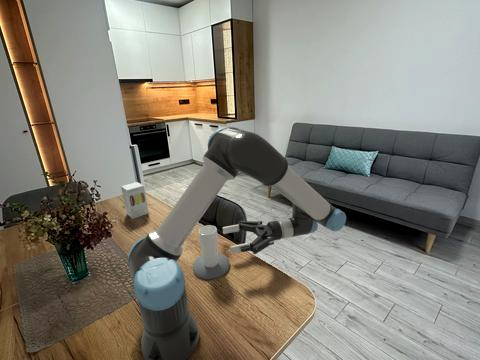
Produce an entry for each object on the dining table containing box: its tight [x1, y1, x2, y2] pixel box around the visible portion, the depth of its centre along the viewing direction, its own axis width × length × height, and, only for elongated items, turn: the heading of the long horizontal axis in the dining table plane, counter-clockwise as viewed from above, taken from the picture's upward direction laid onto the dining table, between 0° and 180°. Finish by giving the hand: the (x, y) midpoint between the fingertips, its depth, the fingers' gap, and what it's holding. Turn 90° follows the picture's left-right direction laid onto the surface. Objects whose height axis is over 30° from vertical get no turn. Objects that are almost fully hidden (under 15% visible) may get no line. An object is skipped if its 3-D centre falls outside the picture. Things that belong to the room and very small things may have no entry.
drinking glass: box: [198, 224, 219, 268], centre depth 95 cm, size 7×7×15 cm
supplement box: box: [120, 181, 149, 220], centre depth 140 cm, size 10×9×17 cm
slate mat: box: [192, 252, 230, 280], centre depth 98 cm, size 14×14×1 cm
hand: (226, 239), depth 96 cm, fingers open, 13 cm apart
